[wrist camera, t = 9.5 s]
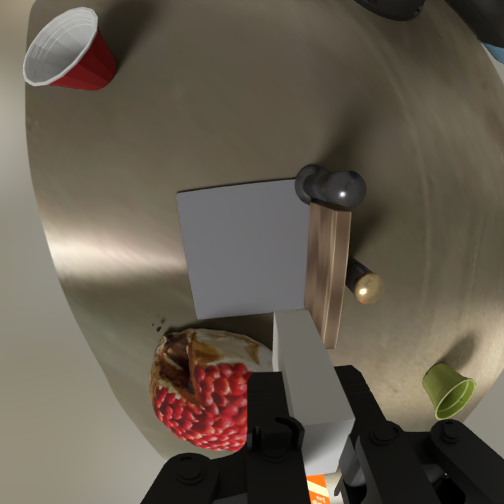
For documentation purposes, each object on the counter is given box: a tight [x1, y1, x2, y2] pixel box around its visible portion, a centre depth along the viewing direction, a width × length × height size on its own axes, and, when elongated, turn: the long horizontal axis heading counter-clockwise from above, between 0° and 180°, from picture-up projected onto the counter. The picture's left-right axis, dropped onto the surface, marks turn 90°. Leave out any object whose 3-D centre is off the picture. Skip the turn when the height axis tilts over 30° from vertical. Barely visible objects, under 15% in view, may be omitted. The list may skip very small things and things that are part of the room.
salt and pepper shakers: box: [295, 166, 384, 305], centre depth 29 cm, size 7×14×13 cm, turn 6°
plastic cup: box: [23, 7, 116, 90], centre depth 24 cm, size 11×11×12 cm
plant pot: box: [423, 363, 476, 420], centre depth 39 cm, size 9×9×9 cm
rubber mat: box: [176, 179, 310, 319], centre depth 36 cm, size 17×17×1 cm
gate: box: [304, 202, 351, 349], centre depth 31 cm, size 14×1×11 cm, turn 179°
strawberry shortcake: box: [149, 324, 274, 452], centre depth 37 cm, size 23×24×10 cm
